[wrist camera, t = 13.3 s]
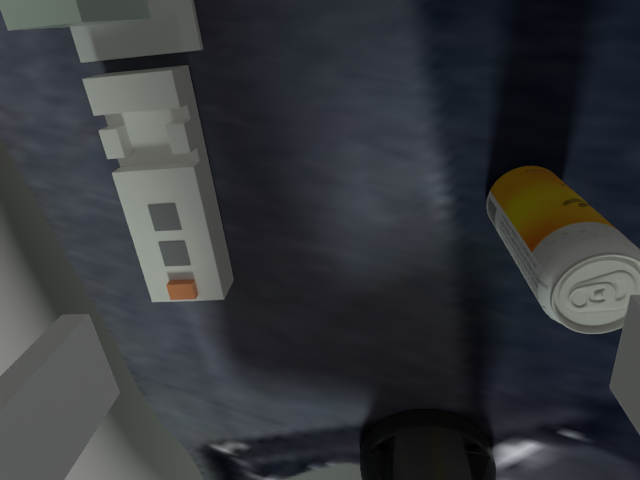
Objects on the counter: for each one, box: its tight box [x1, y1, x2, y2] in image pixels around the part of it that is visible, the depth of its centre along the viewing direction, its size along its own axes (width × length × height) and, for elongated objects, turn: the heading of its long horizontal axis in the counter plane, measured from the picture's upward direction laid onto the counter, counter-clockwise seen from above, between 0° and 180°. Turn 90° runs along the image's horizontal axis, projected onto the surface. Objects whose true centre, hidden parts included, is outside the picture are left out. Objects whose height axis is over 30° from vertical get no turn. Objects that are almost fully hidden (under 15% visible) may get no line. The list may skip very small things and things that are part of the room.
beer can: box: [486, 166, 640, 334], centre depth 32 cm, size 6×6×15 cm
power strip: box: [82, 65, 234, 302], centre depth 39 cm, size 20×7×4 cm, turn 6°
